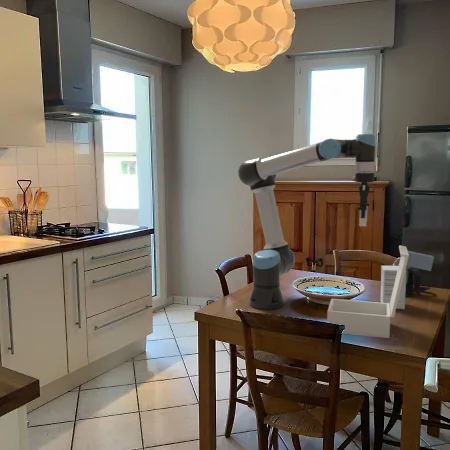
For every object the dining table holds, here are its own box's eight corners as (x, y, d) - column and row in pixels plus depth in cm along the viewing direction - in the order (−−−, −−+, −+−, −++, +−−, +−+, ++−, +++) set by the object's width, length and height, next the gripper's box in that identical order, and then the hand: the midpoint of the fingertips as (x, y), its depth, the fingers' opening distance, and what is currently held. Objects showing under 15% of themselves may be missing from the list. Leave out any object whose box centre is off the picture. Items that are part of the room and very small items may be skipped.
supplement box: (405, 309, 199) (406, 270, 197) (382, 308, 201) (383, 270, 199) (401, 302, 208) (403, 265, 206) (379, 301, 210) (381, 264, 208)
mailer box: (327, 331, 175) (327, 311, 174) (331, 317, 190) (331, 298, 189) (389, 338, 169) (390, 316, 167) (388, 322, 184) (389, 303, 182)
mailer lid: (401, 253, 163) (436, 261, 160) (399, 245, 178) (431, 251, 175) (386, 316, 168) (420, 324, 164) (385, 302, 183) (416, 309, 180)
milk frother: (388, 293, 222) (390, 263, 220) (404, 287, 233) (406, 257, 231) (418, 300, 212) (419, 268, 210) (433, 293, 222) (435, 262, 220)
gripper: (374, 173, 180) (372, 228, 183) (374, 171, 203) (372, 219, 206) (353, 173, 182) (352, 227, 185) (356, 171, 205) (355, 219, 209)
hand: (363, 223), depth 196 cm, fingers open, 13 cm apart
